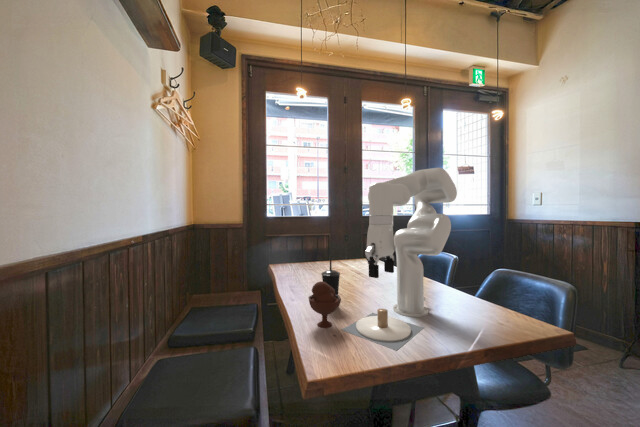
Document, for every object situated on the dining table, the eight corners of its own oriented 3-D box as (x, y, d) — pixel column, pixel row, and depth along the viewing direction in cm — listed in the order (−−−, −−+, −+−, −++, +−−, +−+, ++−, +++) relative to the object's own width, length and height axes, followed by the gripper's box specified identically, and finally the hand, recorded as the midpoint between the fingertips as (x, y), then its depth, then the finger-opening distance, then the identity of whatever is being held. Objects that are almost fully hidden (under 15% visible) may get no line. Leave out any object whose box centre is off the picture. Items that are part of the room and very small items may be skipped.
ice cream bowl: (339, 334, 80) (338, 286, 80) (304, 331, 82) (304, 284, 82) (343, 320, 90) (342, 277, 90) (312, 318, 92) (311, 276, 92)
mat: (372, 314, 96) (372, 312, 96) (424, 329, 83) (424, 327, 83) (341, 331, 82) (341, 329, 82) (396, 352, 69) (396, 350, 69)
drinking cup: (322, 303, 108) (322, 255, 108) (340, 304, 107) (340, 256, 107) (320, 310, 100) (320, 259, 101) (340, 310, 100) (339, 259, 100)
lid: (373, 314, 94) (373, 298, 95) (419, 327, 83) (419, 309, 83) (345, 329, 82) (345, 311, 82) (395, 347, 70) (394, 326, 70)
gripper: (384, 220, 92) (384, 269, 91) (355, 221, 79) (356, 277, 79) (404, 221, 87) (404, 272, 86) (377, 221, 74) (378, 281, 74)
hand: (381, 274), depth 82 cm, fingers open, 9 cm apart
